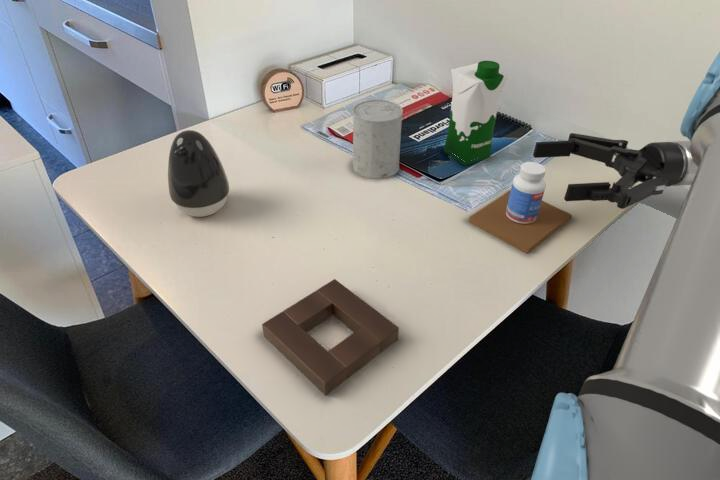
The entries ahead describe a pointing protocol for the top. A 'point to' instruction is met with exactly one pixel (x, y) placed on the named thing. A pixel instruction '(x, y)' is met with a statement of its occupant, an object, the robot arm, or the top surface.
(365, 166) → the concrete cylinder
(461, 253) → the top surface
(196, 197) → the black egg-shaped figure
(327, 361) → the socket base
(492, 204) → the cork pad
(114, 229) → the top surface
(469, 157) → the milk carton
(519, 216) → the pill bottle
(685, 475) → the robot arm
